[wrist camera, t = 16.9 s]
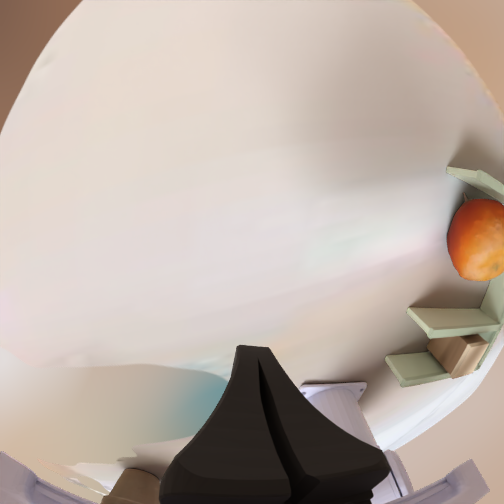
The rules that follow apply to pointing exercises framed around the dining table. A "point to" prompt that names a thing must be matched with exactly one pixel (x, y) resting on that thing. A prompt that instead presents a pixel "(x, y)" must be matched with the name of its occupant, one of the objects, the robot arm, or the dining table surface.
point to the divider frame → (454, 310)
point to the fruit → (477, 239)
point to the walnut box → (458, 353)
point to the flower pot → (134, 489)
